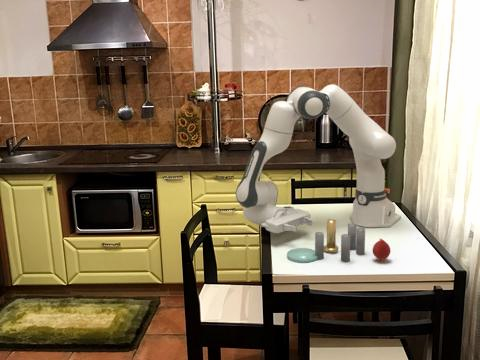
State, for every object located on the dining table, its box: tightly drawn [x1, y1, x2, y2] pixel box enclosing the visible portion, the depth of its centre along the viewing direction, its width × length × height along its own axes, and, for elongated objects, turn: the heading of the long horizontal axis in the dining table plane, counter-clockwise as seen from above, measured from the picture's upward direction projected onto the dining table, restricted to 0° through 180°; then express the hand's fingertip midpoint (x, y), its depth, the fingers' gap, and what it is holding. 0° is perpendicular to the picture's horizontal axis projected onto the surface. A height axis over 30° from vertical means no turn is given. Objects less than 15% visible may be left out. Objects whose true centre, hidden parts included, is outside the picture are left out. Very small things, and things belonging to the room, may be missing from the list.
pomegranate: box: [372, 237, 391, 262], centre depth 182 cm, size 6×6×8 cm
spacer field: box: [314, 223, 366, 263], centre depth 188 cm, size 18×11×9 cm, turn 134°
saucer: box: [286, 247, 318, 264], centre depth 188 cm, size 11×11×1 cm
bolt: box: [324, 218, 339, 255], centre depth 191 cm, size 5×5×12 cm
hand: (304, 225), depth 200 cm, fingers open, 8 cm apart
